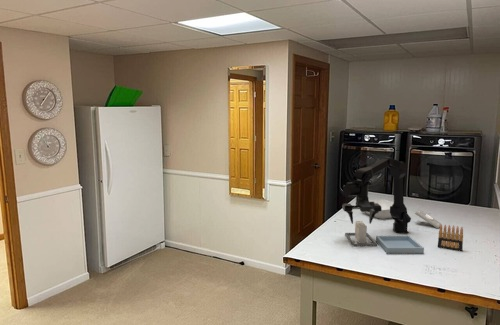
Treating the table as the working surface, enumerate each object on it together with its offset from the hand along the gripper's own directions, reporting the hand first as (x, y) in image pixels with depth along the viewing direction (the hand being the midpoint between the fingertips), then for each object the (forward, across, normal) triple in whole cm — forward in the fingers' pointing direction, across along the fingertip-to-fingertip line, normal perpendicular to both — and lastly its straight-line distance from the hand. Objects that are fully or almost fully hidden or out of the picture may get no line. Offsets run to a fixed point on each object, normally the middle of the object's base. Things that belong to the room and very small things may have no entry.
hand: (361, 223), depth 193 cm
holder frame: (+9, 0, 0) cm, 9 cm away
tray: (+9, +16, -10) cm, 21 cm away
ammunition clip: (+9, +40, -12) cm, 43 cm away
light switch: (+10, +46, +25) cm, 53 cm away
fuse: (+9, 0, 0) cm, 9 cm away
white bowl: (+10, +26, +46) cm, 54 cm away
